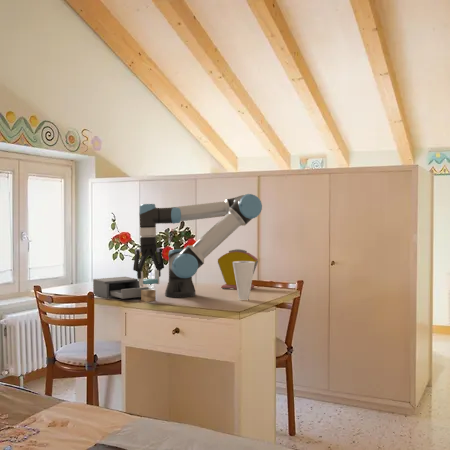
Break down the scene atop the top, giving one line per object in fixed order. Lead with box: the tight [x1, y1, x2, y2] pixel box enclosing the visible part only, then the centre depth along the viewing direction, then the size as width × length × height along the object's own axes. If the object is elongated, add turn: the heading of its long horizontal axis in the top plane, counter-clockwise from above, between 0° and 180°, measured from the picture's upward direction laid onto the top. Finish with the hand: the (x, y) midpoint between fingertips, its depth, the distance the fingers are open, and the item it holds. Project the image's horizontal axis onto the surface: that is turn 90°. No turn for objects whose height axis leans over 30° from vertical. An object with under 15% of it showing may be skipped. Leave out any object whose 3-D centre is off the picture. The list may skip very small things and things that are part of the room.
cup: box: [233, 261, 255, 301], centre depth 260 cm, size 11×11×18 cm
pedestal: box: [140, 288, 157, 303], centre depth 259 cm, size 5×5×5 cm
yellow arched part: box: [217, 248, 258, 290], centre depth 301 cm, size 22×9×22 cm, turn 76°
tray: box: [109, 286, 150, 300], centre depth 268 cm, size 14×15×4 cm
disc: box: [143, 278, 158, 285], centre depth 259 cm, size 8×8×2 cm
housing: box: [92, 276, 141, 299], centre depth 279 cm, size 18×16×8 cm
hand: (149, 284), depth 259 cm, fingers closed on disc, 8 cm apart
